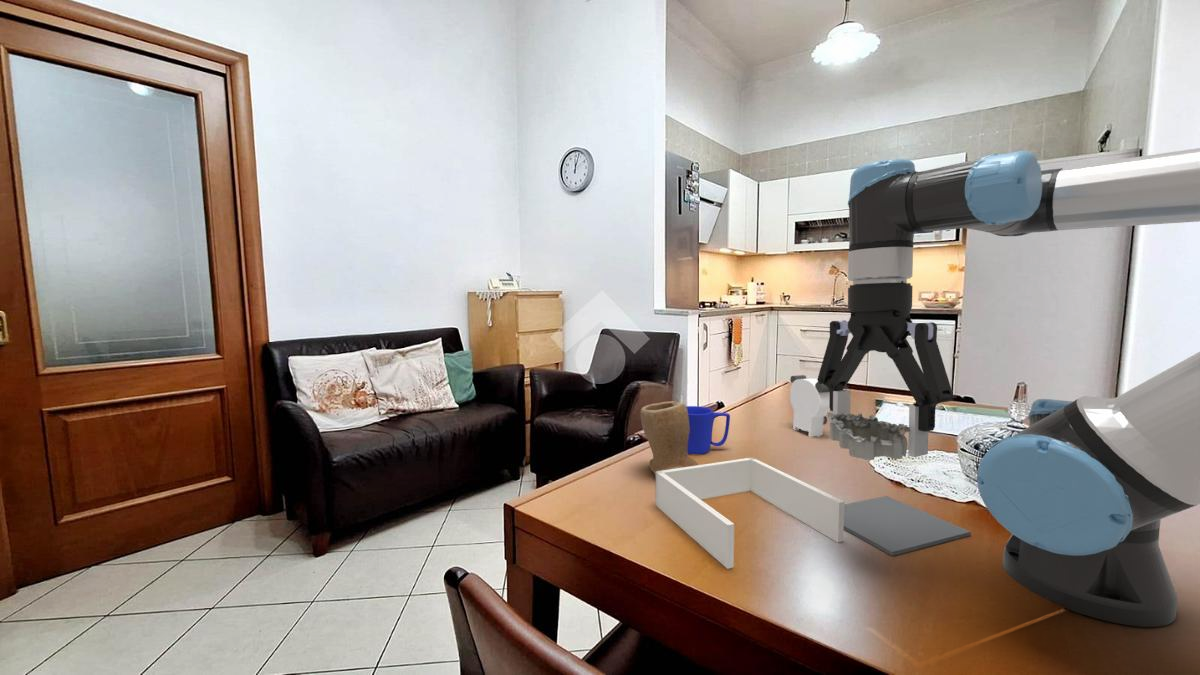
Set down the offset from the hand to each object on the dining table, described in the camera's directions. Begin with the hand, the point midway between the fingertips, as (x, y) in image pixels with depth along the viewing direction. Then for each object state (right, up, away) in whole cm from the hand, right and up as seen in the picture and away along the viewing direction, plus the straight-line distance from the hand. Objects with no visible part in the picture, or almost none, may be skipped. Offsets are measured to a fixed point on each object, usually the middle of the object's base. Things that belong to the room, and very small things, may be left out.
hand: (876, 443), depth 67 cm
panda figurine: (+15, -11, +57) cm, 60 cm away
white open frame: (-16, -15, +12) cm, 25 cm away
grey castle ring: (0, -2, 0) cm, 2 cm away
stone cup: (-24, -13, +30) cm, 41 cm away
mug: (-14, -12, +45) cm, 49 cm away
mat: (+7, -15, +10) cm, 19 cm away
